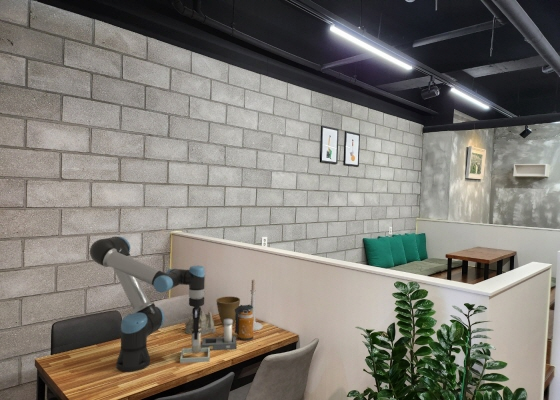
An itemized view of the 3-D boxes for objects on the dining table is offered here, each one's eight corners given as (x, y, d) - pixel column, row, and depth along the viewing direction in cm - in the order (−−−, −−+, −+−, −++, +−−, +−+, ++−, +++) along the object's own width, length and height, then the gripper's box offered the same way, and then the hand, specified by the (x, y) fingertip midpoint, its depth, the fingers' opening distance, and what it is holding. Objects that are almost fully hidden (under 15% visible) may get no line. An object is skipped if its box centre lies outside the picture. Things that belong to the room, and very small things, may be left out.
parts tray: (180, 365, 183) (180, 358, 183) (182, 354, 195) (182, 348, 195) (209, 363, 186) (209, 357, 186) (209, 353, 198) (209, 347, 198)
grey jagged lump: (219, 331, 228) (218, 306, 228) (197, 339, 216) (195, 313, 216) (204, 326, 239) (202, 302, 239) (181, 334, 227) (180, 309, 227)
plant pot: (231, 319, 251) (231, 295, 251) (244, 325, 240) (244, 300, 240) (211, 323, 242) (212, 298, 242) (223, 330, 230) (224, 304, 230)
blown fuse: (190, 353, 188) (191, 325, 187) (191, 349, 192) (191, 322, 192) (200, 353, 188) (201, 325, 188) (201, 349, 193) (201, 321, 193)
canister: (255, 341, 215) (256, 306, 214) (236, 343, 210) (237, 308, 210) (250, 335, 223) (251, 302, 222) (232, 338, 219) (233, 303, 218)
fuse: (223, 347, 202) (223, 321, 202) (223, 344, 207) (223, 318, 207) (232, 347, 203) (232, 321, 203) (231, 343, 208) (232, 318, 208)
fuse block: (201, 352, 198) (202, 345, 198) (202, 345, 208) (202, 337, 208) (236, 351, 201) (236, 343, 201) (235, 343, 211) (235, 336, 211)
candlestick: (248, 332, 229) (249, 282, 228) (238, 325, 239) (239, 278, 239) (266, 328, 236) (267, 280, 235) (256, 322, 246) (257, 276, 246)
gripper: (203, 301, 182) (203, 350, 182) (204, 292, 199) (204, 336, 200) (187, 302, 181) (187, 350, 181) (190, 292, 198) (189, 337, 198)
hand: (196, 343), depth 190 cm, fingers closed on blown fuse, 4 cm apart
